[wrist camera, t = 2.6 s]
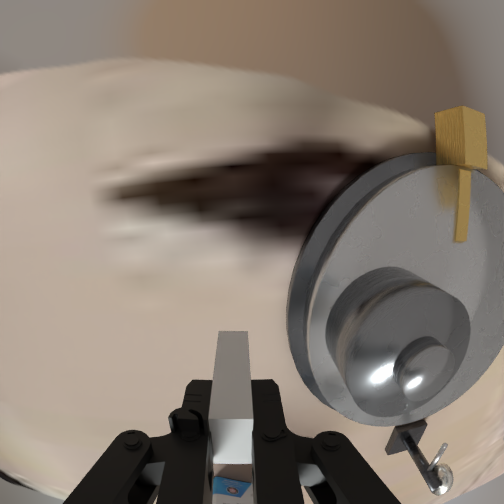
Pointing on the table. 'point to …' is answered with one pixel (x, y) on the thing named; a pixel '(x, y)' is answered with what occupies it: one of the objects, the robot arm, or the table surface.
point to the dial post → (421, 456)
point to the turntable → (421, 256)
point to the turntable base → (317, 244)
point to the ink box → (231, 491)
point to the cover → (396, 340)
